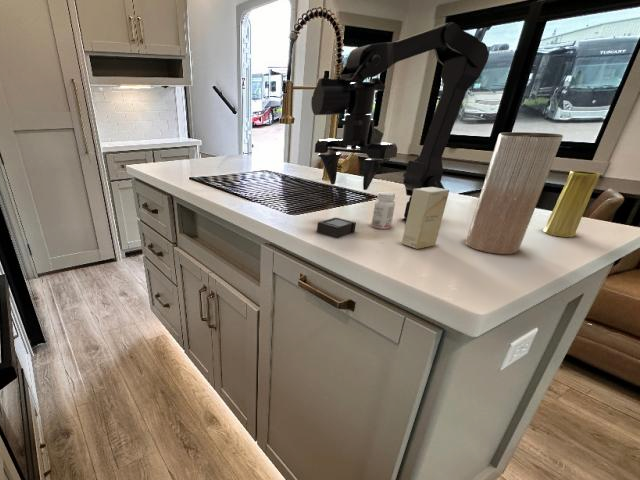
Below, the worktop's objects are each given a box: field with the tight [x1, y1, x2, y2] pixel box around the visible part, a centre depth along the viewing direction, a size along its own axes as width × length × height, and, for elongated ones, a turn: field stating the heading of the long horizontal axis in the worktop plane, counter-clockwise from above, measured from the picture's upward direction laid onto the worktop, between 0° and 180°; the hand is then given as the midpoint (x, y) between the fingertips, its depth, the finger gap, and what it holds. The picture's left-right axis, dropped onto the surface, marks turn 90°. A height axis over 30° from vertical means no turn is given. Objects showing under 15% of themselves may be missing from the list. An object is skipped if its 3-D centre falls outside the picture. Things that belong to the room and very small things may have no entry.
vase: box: [543, 170, 601, 238], centre depth 84 cm, size 6×6×14 cm
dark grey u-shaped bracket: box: [316, 216, 357, 239], centre depth 88 cm, size 6×7×2 cm
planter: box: [465, 131, 564, 255], centre depth 74 cm, size 10×10×23 cm
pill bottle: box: [371, 191, 396, 230], centre depth 91 cm, size 5×5×8 cm
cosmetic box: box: [401, 187, 450, 250], centre depth 78 cm, size 6×4×12 cm
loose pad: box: [325, 219, 352, 238], centre depth 88 cm, size 5×5×2 cm
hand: (348, 186), depth 87 cm, fingers open, 9 cm apart
